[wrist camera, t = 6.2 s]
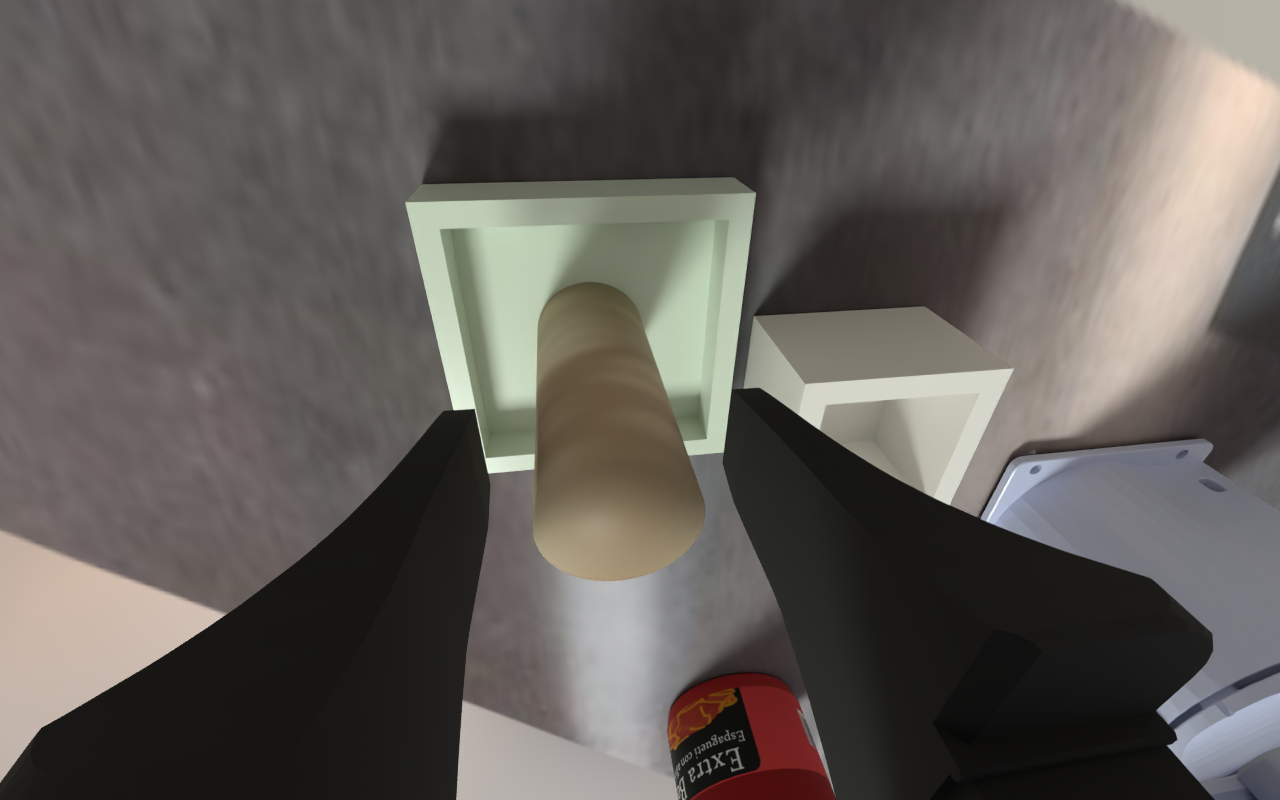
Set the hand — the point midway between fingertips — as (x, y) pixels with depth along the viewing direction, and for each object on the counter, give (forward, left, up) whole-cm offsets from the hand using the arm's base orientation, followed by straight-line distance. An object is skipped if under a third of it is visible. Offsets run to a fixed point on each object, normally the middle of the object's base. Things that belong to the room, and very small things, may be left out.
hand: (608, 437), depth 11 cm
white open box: (-8, +3, -6) cm, 10 cm away
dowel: (0, 0, -5) cm, 5 cm away
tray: (0, 0, -6) cm, 6 cm away
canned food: (-7, +25, -6) cm, 27 cm away
